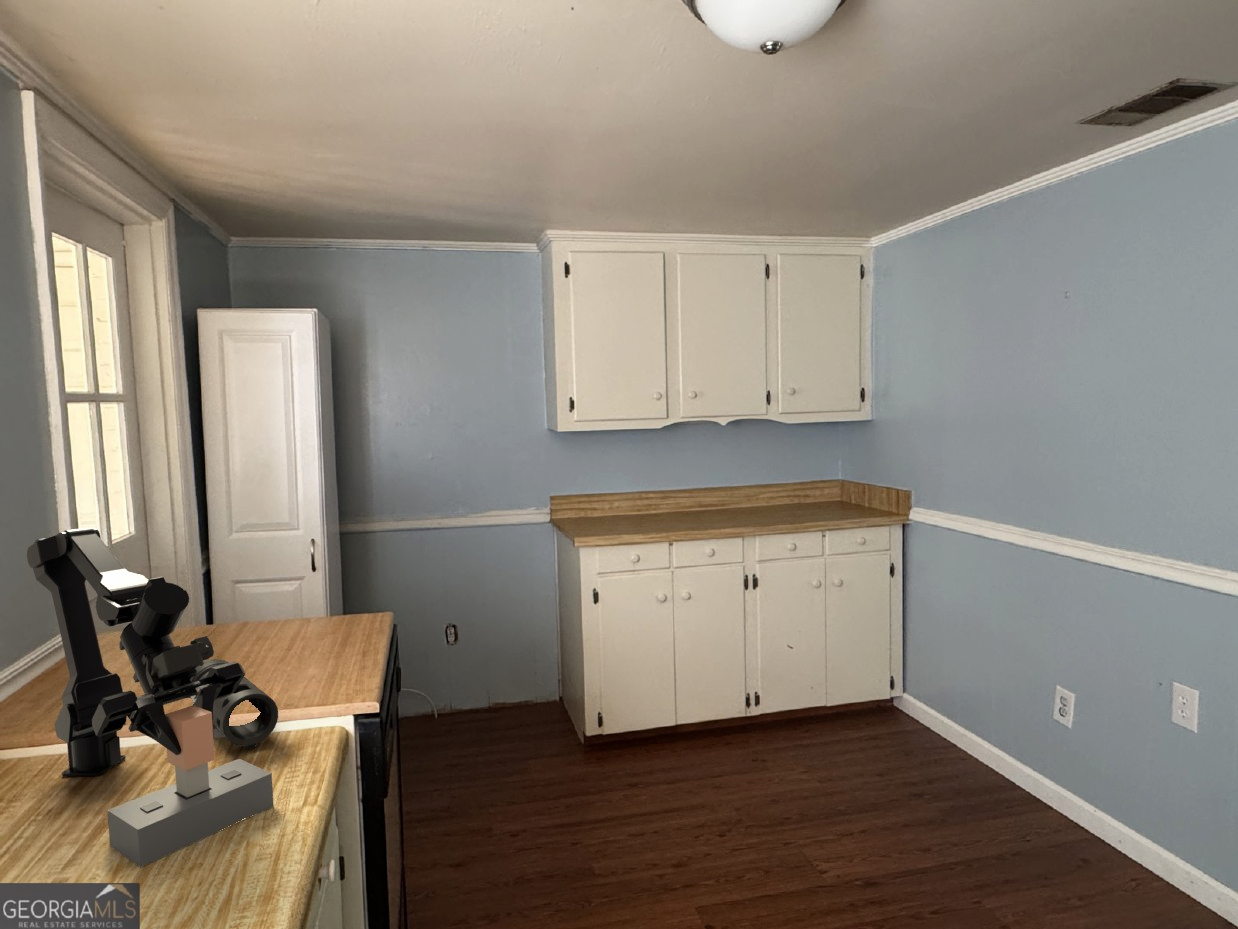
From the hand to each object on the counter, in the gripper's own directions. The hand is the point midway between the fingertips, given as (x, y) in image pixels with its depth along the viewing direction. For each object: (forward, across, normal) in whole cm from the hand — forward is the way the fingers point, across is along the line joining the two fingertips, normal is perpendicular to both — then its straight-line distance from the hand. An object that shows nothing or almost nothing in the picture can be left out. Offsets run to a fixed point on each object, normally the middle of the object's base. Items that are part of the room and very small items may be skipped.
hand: (195, 747), depth 106 cm
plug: (+4, 0, +6) cm, 8 cm away
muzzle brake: (-14, +21, +31) cm, 40 cm away
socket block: (+7, 0, +9) cm, 12 cm away
